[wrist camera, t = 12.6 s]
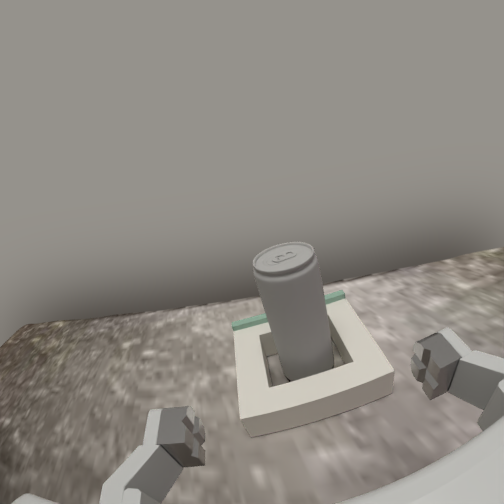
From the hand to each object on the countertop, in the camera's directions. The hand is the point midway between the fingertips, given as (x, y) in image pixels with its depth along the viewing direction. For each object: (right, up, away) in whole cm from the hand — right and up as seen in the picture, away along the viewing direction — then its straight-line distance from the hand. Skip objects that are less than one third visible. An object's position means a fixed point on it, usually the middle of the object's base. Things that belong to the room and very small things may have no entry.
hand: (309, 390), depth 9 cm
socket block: (+3, -6, +16) cm, 18 cm away
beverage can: (+3, -6, +17) cm, 18 cm away
